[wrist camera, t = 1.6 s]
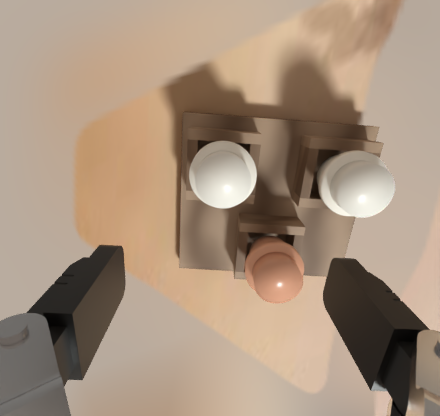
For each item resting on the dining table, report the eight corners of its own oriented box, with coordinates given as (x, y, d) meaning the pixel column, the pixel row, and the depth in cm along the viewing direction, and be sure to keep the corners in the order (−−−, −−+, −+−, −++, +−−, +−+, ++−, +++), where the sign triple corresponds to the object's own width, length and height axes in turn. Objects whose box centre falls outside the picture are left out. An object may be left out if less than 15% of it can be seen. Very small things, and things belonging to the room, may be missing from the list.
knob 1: (254, 139, 26) (264, 147, 21) (248, 197, 29) (255, 218, 23) (194, 135, 26) (187, 142, 21) (192, 193, 28) (185, 213, 23)
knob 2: (374, 148, 27) (413, 158, 21) (359, 204, 29) (391, 227, 23) (314, 144, 27) (339, 153, 21) (304, 201, 29) (324, 222, 23)
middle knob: (298, 230, 30) (316, 257, 25) (289, 276, 32) (304, 310, 27) (244, 227, 30) (250, 253, 24) (239, 273, 32) (244, 307, 26)
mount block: (371, 126, 30) (396, 129, 26) (334, 270, 37) (349, 291, 32) (184, 111, 30) (178, 112, 25) (180, 261, 36) (175, 281, 32)
